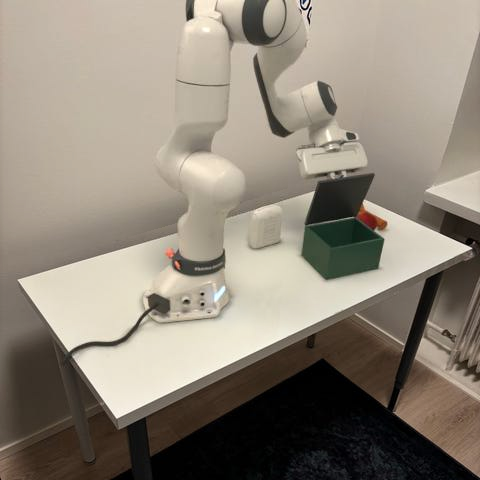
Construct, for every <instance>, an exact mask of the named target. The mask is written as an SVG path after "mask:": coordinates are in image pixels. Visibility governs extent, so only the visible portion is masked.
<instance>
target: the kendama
mask: <svg viewBox="0 0 480 480" xmlns="http://www.w3.org/2000/svg"><path fill="white" fill-rule="evenodd" d="M360 212H367V213H369V214H371V215H373V216H375V217H376V219H377V226H376V228H377V229H379V231H384V230H385V229H386V228H387V226H388V221H386V219H383V218H382V217H379V216H377V215H375V214H374V213H372V212H370V211H368V210H366V208H365V205H364V203H363V204H362V206H361V208H360V210H359V213H360Z"/></svg>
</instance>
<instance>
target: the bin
mask: <svg viewBox="0 0 480 480" xmlns="http://www.w3.org/2000/svg"><path fill="white" fill-rule="evenodd" d="M303 229H304V230H303V238H302V246H301V255H300V256H301V257H302V258H303V259H304V260H305V261H306V262H307V263H308V264H309V265H310V266H311V267H312V268H313V269H314V270H315V271H316V272H317V273H318V274H319V275H320V276H321V277H322V278H323V279H324V280H325V281H329V280H333V279H338V278H342V277H347V276H351V275H355V274H361V273H364V272H365V273H366V272H369V271H373V270H378V269H379V267H380V262H381V257H382V253H383V248H384V244H385V239H386V238H384V237H383V236H382V235H380V234H379V233H378V232H376V231H375V230H372V229H371V228H370V227H368V226H367V225H366V224H364V223H363V222H362V221H360V220H359V219H358V218H356V217H351V218H345V219H340V220H334V221H329V222H323V223H317V224H312V225H306V226H305V225H304V228H303Z"/></svg>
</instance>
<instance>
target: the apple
mask: <svg viewBox="0 0 480 480" xmlns="http://www.w3.org/2000/svg"><path fill="white" fill-rule="evenodd" d="M356 218H358V219H359V220H360V221H362V222H363V223H364V224H366V225H367V226H368V227H370V228H371V229H372V230H374V231H375V230H376V229H377V219H376V217H375V216H373V215H371V214H369V213H367V212H359V213H358V215H357V217H356Z"/></svg>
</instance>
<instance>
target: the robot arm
mask: <svg viewBox="0 0 480 480" xmlns="http://www.w3.org/2000/svg"><path fill="white" fill-rule="evenodd" d="M185 1H186V2H185V21H186V22H185V23H184V24H183V25H182V28H181V30H180V35H179V40H178V46H177V52H176V64H175V91H174V92H175V94H174V95H175V96H174V115H173V116H174V117H173V122H172V127H171V130H170V134H169V137H168V140H167V141H166V142H165V143H164V144H163V145H161V147H160V148H159V150H158V151H157V154H156V156H155V170H156V172H157V175H159V177H160V178H161V179H162V180H163V181H164V182H165V183H166V184H167V185H168V186H169V187H170V188H172V189H174V190H175V191H176V192H179V193H180V194H182V195H184V196H186V198H187V201H188V208H187V212H185V213H183V215H181V216H180V217H179V219H178V221H177V225H176V226H177V242H178V248H177V250H176V252H175V251H174V250H173V248H168V249H166V251H165V255H166V256H167V258H168V259H169V260H171V264H169V265H168V266H166V268H164V269H163V270H161V271H160V272H159V273H157V275H156V276H154V277H153V279H152V283H151V287H150V288H151V289H148V290H146V291H145V292H144V294H143V297H142V304H143V307H144V310H145V311H144V312H143V313H142V314H141V315H140V316H139V318H138V319H137V321H136V322H135V324H134V325H133V326H132V327H131V329H129V331H127V333H126V334H125V335H123V337H121V338H118V339H116V340H112V341H102V340H101V341H99V340H98V341H97V340H96V341H87V342H85V343H81V344H79V345H77V346H75V347H73V348H72V349H70V350H69V351H68V352H67V353H66V354H65V356H64V358H63V359H62V360H61V362H60V366H62V367H63V366H65V365H66V363H67V362H68V360H69V359H70V358H71V356H72V355H73V354H74V353H76V352H77V351H79V350H81V349H85V348H87V347H90V346H115V345H118V344H121V343H123V342H125V341H126V340H127V339H128V338H130V337H131V336H132V335H133V334H134V332H135V331H136V330H137V329H138V327H139V326H140V324H141V323H142V321H143V320H144V319H145V318H146V317H147V315H148V316H149V318H151V319H152V320H153V321H154V322H157V323H159V324H160V323H161V324H164V323H173V322H182V321H183V322H184V321H192V320H201V319H211V318H217V317H218V316H219V315H220V313H221V310H222V309H223V308H225V306H226V305H227V304H228V303H229V301H230V292H229V290H228V286H227V282H226V276H225V269H226V263H227V260H226V259H227V257H226V249H225V248H224V242H225V241H224V240H225V238H224V237H225V236H224V235H225V223H226V218H227V216H228V214H229V213H230V212H231V210H234V209H235V208H237V206H238V205H239V204H240V203H241V202H242V200H243V198H244V196H245V194H246V190H247V179H246V176H245V174H244V172H243V171H242V170H241V169H240V168H238V167H237V165H236V164H234V163H233V162H232V161H230V160H229V159H227V158H224V156H223V157H222V156H220V155H218V154H216V153H213V152H212V144H213V140H214V137H215V136H216V135H215V134H216V133H218V132H219V131H220V130H222V129H223V128H224V127H225V126H226V124H227V123H228V119H229V107H230V105H229V104H230V91H231V75H232V74H231V71H232V70H231V69H232V67H231V65H232V64H231V60H232V59H231V51H232V49H233V46H234V44H242V45H252V46H254V47H257V51H256V53H255V55H254V56H253V58H252V64H253V65H252V66H253V71H254V75H255V79H256V83H257V86H258V91H259V94H260V97H261V100H262V103H263V104H262V105H263V107H264V110H265V119H266V124H267V127H268V128H269V130H270V132H271V134H272V135H274V136H277V137H280V138H283V139H285V138H287V137H289V136H291V135H293V134H294V133H296V132H297V131H300V130H303V129H305V128H307V130H308V140H309V143H310V144H305V145H304V144H302V145H299V146H298V147H297V148H296V150H295V155H296V159H297V160H298V168H299V169H298V170H299V173H300V177H301V178H302V179H303V180H311V179H317V178H319V179H320V178H325V177H326V180H329V179H336V176H337V178H342V177H347V175H348V174H352V173H359V172H363V171H364V170H365V169H367V167H368V163H369V160H368V157H367V154H366V151H365V149H364V147H363V145H362V144H361V143H360V142H358V141H359V140H360V136H359V134H358V133H356V132H353V131H349V130H346V129H342V128H341V127H340V125H339V123H338V121H337V119H336V113H337V109H338V105H337V101H336V100H335V99H336V98H335V95H334V91H333V89H332V87H331V85H330V84H328V83H326V82H324V81H321V80H316V81H313V82H311V83H309V84H306V85H303V86H302V87H300V88H297V89H296V90H294V91H291V92H289V93H287V94H285V95H282V96H278V95H277V93H278V92H277V90H276V86H275V83H276V82H277V80H278V79H279V78H280V77H281V75H283V73H284V72H286V71H287V70H288V69H289V68H291V67H292V66H293V65H294V64H295V63H296V62H297V61H298V60H299V58H301V56H302V54H303V52H304V49H305V47H306V43H307V40H308V39H307V38H308V34H307V29H306V23H305V21H304V18H303V15H302V12H301V10H300V7H299V5H298V3H297V1H296V0H185Z"/></svg>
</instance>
